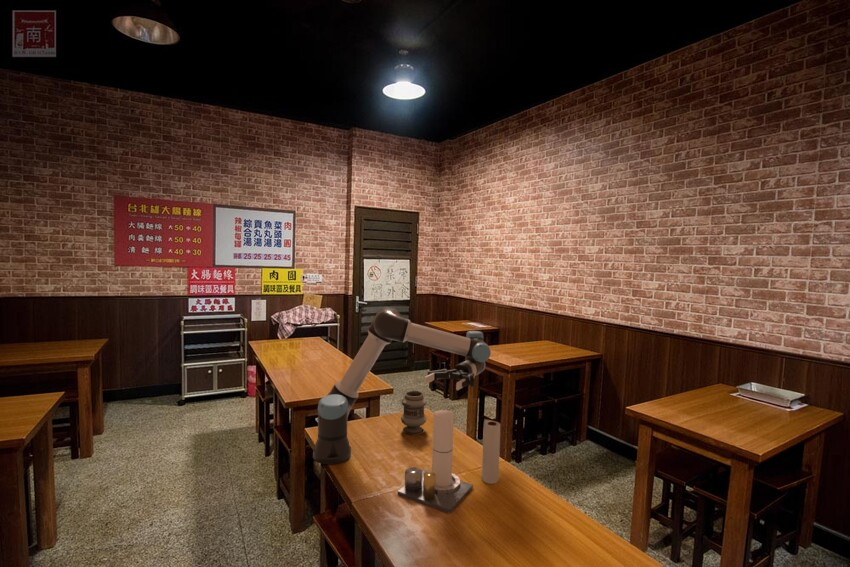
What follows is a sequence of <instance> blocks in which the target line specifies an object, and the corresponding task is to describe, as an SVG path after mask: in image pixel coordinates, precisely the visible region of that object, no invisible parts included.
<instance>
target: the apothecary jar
mask: <svg viewBox="0 0 850 567" xmlns="http://www.w3.org/2000/svg"><path fill="white" fill-rule="evenodd" d="M401 405H402V406H403V413H402V415H401V417H400V420H401V423H402V424H403V425H404V426H405V427H403V429H402V432H403V433H405V434H407V435H412V436H413V435H421V434H423V433H424V432H425V430H424V428H423V427H422V426H423V425H424V424H425V423H427V416H426V415H425V406H426V405H427V399H426V398H425V396H424V393H423V392H422V391H420V390H408V391H406V392H405V393H404V397H403V398H402V399H401ZM423 431H424V432H423Z"/></svg>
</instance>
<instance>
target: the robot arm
mask: <svg viewBox="0 0 850 567" xmlns="http://www.w3.org/2000/svg"><path fill="white" fill-rule="evenodd" d="M367 333H368V335H367V337H366V338H365V339H364V342H363V343H362V345H361V346H360V348H359V350H358V352H357V354H356V355H355V357H354V358H353V360H352V362H351V363H350V365H349V366H348V368H347V370H346V371H345V373H344V375H343V376H342V378H341V380H340V381H337V382H335V383H334V385H333V386H332V388H331V390H330V392H328V394H326V396H323V397H322V398H320V400H319V401H318V405H317V438H316V441H315V445H314V449H313V450H312V458H313V460H314V461H315V462H316V463H317V464H322V465H336V464H341V463H345V462H346V461H347V460H349V459H350V458H351V456H352V447H351V445H350V441H349V438H348V417H349V415H350V412H351V410H352V409H353V406H354V404H355V403H356V401H357V400H358V397H359V392H358V391H359V390H360V387H362V384H363V383H364V381H365V380H366V378H367V376H368V375H369V373H370V371H371V369H372V368H373V366H374V365H375V363H376V361H377V360H378V358H379V357H380V356H381V355H380V354H382V352H383V350H384V348H385V347H386V346H387V345H389V344H391V343H392V341H396V342H400V343H405V342H410V343H415V344H418V345H420V346H421V345H422V346H424V347H429V348H433V349H435V350H436V349H437V350H441V351H443V352H448V353H452V354H454V355H455V354H456V355H460V356H463V357H465V358H464V360H465V361H462V362H460V363H458V364H455V366H454V367H453V368H452V369H447V368H442V369H437V370H429V371H427V375H426V376H424V381H423V382H424V384H425V385H427V384H430V383H431V382H433V381H435V380H440V379H447V380H456V381H457V382H456V384H455V387H456V388H455V390H456V391H459V390H461V389H463V388H465V387H468V386H470V387H474V386H475V377H476V376H478V375H480V374H482V373H483V372H484V370H485V369H486V361H488V360H489V359H490V357H491V353H492V351H491V348H490V346H489V345H488V344H487V343H486V342H485V341H484V339H485V338H484V333H483V332H482V331H478V330H469V331H467V332H466V336H462V335H458V334H455V333H451V332H447V331H443V330H440V329H437V328H432V327H429V326H425V325H421V324H417V323H414V322H411V320H410V319H408V318H405V317H403V316H402V315H401V313H400V312H399V310H397V309H396V308H393V307H390V306H389V307H388V306H386V307H383V308H382V307H381V309H379V310H378V311H377V313H376V314H375V317H374V319H373V321H371V324H370V325H369V327H368V329H367Z"/></svg>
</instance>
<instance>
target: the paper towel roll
mask: <svg viewBox="0 0 850 567" xmlns="http://www.w3.org/2000/svg"><path fill="white" fill-rule="evenodd" d="M482 436H483V437H482V439H483V440H482V458H481V459H482V463H481V467H482V470H481V480H482V482H484V483H486V484H488V485H490V484H492V485H495V484H497V483H498V482H499V476H500V475H499V474H500V472H499V471H500V451H501V450H500V449H501V448H500V446H501V445H500V444H501V423H500V422H499V421H496V420H490V419H486V418H484V420H483V435H482Z"/></svg>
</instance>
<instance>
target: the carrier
mask: <svg viewBox="0 0 850 567" xmlns="http://www.w3.org/2000/svg"><path fill="white" fill-rule="evenodd" d="M435 476H436V474H435V473H434V472H432V470H428V469H423V470H422V469H421V468H419V467H415V466H414V467H412V466H411V467H407V468H406V469H405V471H404V485H403V486H402V487H400V489H398V490H397V496H401V497H403V498H406V499H409V500H412V501H414V502H417V503H420V504H422V505H426V506H428V507H430V508H433V509H436V510H439V511H441V512H443V513H448V514H451V513H452V512H453V511H454V510H455V509H456V508H457V506H459V504H460V503H461V502H462V501H463V500H464V499H465V497H467V495H468V494H469V493H470V492H471V491H472V490H473V489H474V484H472V483H470V482H469V483H468V482H466V481H463V480H460V477H459V476H458V475H457V474H455V473H453V472H452V484H451V486H449V487H447V488H438V487H435Z"/></svg>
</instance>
